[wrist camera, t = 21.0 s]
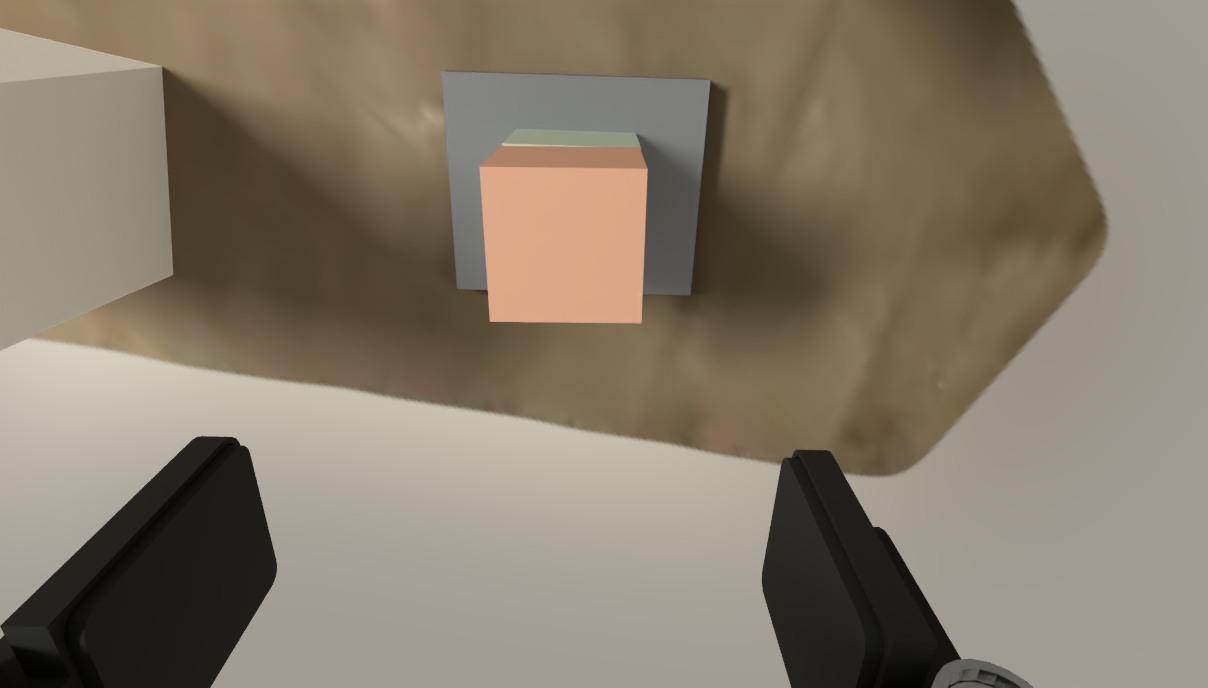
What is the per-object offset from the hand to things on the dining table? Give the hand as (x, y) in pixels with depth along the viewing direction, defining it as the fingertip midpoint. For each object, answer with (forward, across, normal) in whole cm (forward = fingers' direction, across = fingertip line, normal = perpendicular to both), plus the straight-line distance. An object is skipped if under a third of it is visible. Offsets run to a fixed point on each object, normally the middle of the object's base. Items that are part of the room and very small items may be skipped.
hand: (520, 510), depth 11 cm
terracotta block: (+22, 0, 0) cm, 22 cm away
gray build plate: (+28, 0, 0) cm, 28 cm away
